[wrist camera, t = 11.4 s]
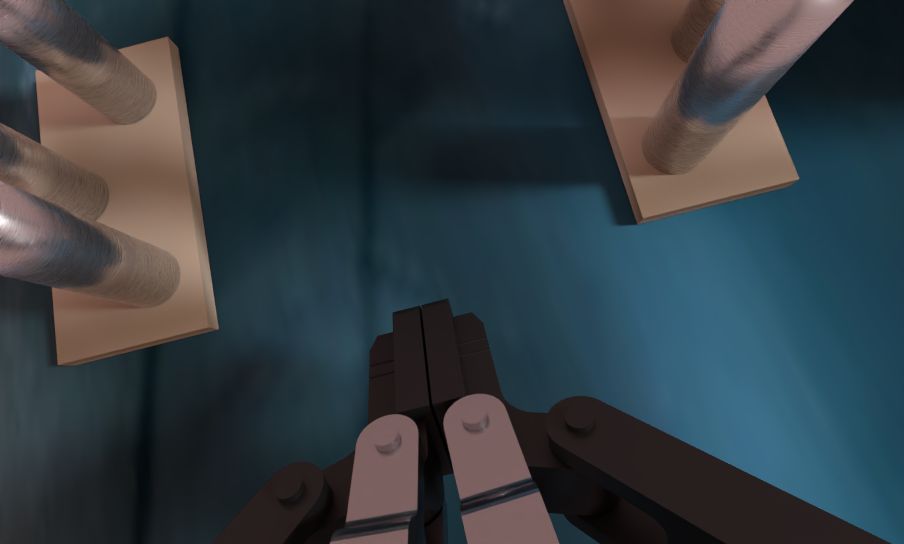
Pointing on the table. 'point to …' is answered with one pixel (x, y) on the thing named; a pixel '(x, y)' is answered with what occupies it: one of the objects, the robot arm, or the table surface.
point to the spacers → (134, 95)
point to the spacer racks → (177, 195)
